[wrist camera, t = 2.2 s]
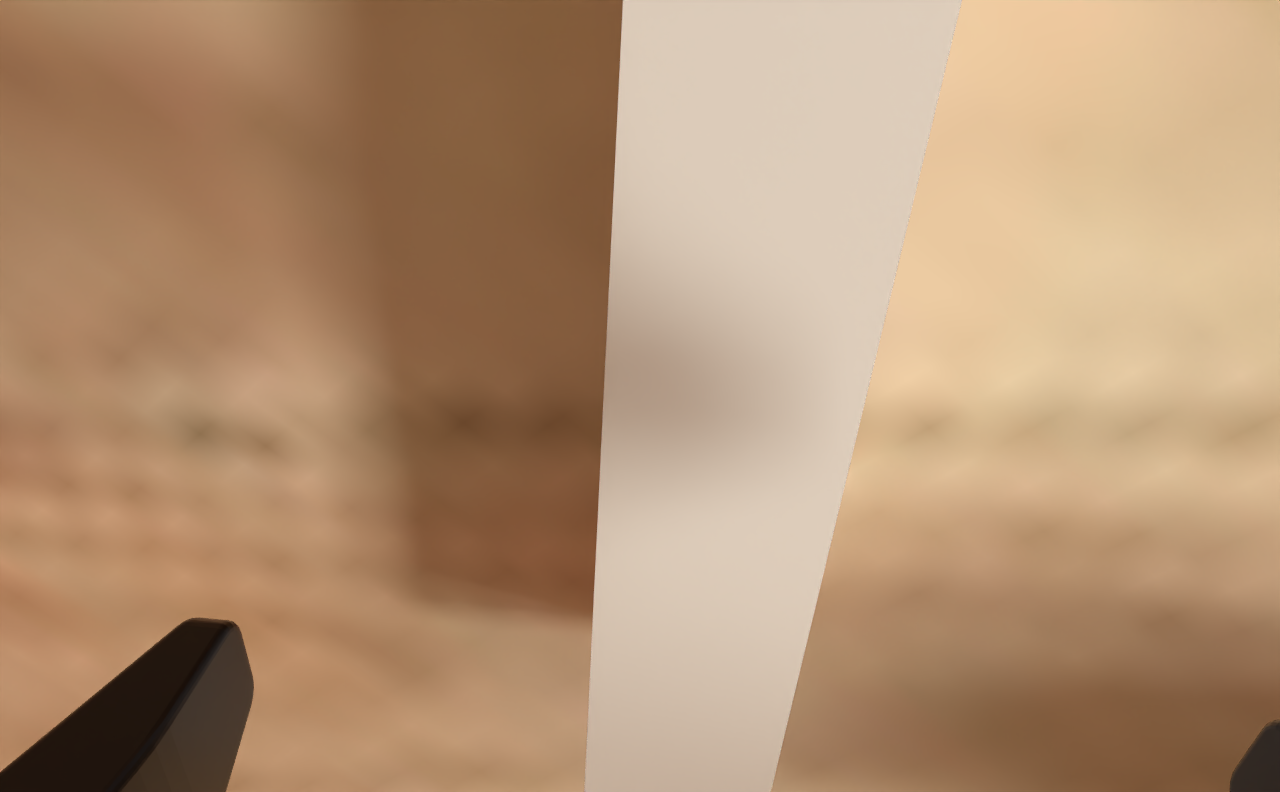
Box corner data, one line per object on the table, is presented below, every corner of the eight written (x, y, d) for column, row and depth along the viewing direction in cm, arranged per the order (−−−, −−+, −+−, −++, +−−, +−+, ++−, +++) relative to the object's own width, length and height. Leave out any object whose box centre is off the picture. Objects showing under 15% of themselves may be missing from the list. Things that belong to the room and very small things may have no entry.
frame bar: (760, 621, 20) (766, 810, 17) (607, 607, 20) (584, 792, 17) (965, -423, 11) (1068, -441, 7) (671, -446, 11) (645, -475, 7)
